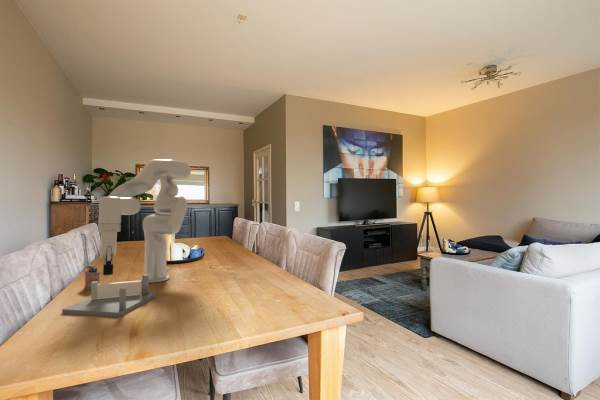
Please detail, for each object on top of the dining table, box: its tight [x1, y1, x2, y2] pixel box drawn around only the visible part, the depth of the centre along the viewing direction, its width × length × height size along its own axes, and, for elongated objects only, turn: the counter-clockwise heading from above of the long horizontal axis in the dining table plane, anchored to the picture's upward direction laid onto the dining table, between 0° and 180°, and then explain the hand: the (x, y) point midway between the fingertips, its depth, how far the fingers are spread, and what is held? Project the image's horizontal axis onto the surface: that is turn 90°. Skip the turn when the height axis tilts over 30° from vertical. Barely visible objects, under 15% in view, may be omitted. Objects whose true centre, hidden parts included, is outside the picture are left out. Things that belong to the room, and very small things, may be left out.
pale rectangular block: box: [90, 279, 142, 299], centre depth 116 cm, size 16×2×6 cm, turn 113°
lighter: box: [84, 264, 101, 291], centre depth 131 cm, size 8×3×10 cm, turn 65°
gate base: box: [61, 274, 157, 318], centre depth 112 cm, size 21×21×9 cm
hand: (108, 274), depth 119 cm, fingers closed
